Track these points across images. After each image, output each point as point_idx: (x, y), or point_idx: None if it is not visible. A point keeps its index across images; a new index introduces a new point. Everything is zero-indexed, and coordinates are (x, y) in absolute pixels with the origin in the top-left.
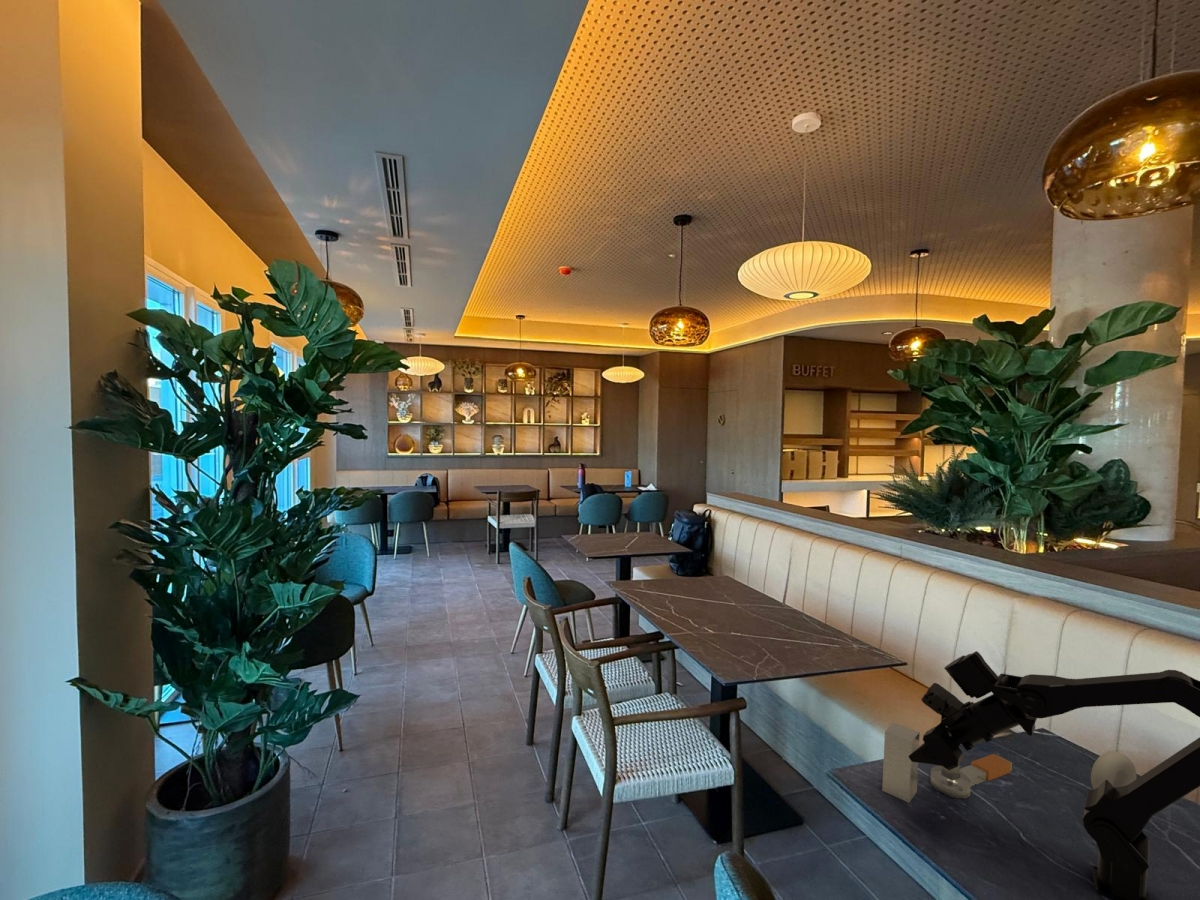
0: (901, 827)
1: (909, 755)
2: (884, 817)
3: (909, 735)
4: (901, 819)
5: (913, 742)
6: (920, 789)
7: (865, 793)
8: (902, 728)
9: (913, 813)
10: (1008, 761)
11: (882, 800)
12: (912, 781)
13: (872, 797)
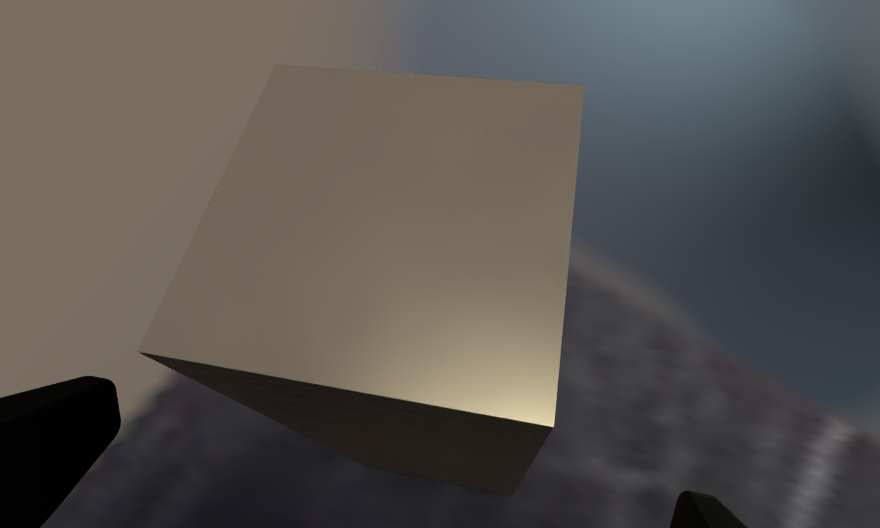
0: (127, 454)
1: (64, 381)
2: (176, 372)
3: (319, 299)
4: (193, 446)
5: (239, 380)
6: (558, 515)
7: None
8: (489, 193)
9: (277, 498)
10: None
11: None
12: (395, 462)
13: None
